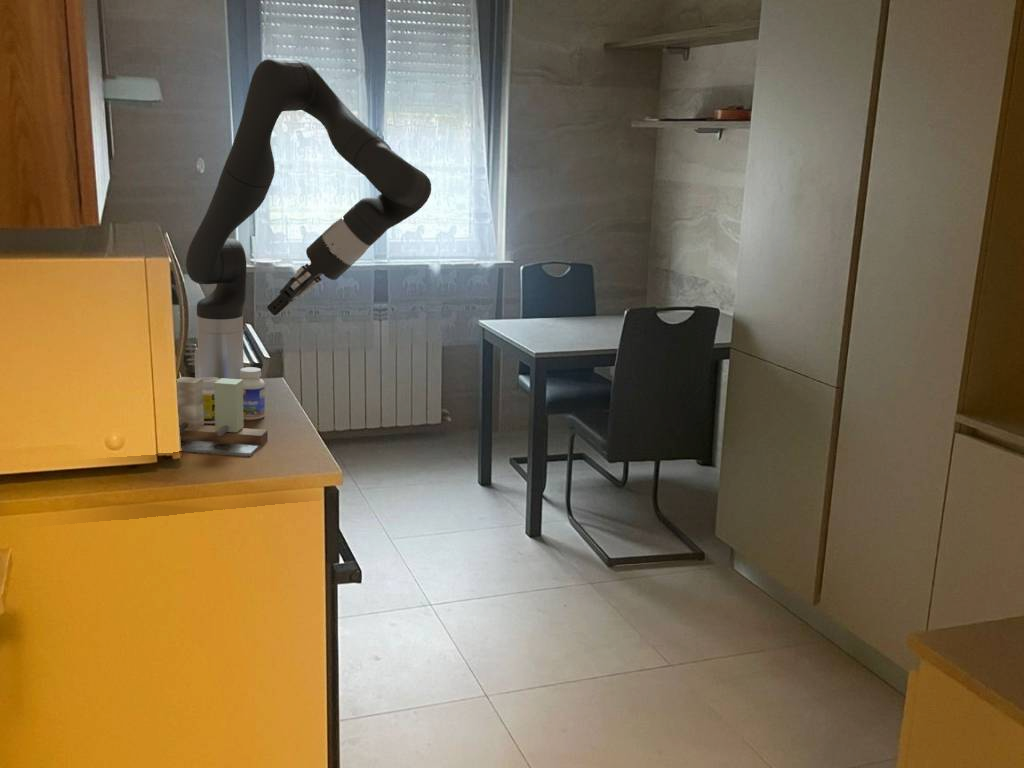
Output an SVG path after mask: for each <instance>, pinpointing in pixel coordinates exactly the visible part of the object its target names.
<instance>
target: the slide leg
mask: <svg viewBox="0 0 1024 768" xmlns="http://www.w3.org/2000/svg"><path fill="white" fill-rule="evenodd" d="M214 396H215V423H214V426H215V431H217V435H218V436H222V435H223V434H224V433H225V432H238V431H239V430H240V429H241V428H245V427H244V417H243V380H242V379H228V378H221V379H219V380H218V381H216V382H215V383H214Z"/></svg>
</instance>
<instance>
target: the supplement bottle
mask: <svg viewBox="0 0 1024 768" xmlns="http://www.w3.org/2000/svg"><path fill="white" fill-rule="evenodd" d="M218 380H219V378H216V377H203V410H204V425H205V424H206V425H213V424H214V425H215V396H214V383H215V382H216V381H218Z"/></svg>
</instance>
